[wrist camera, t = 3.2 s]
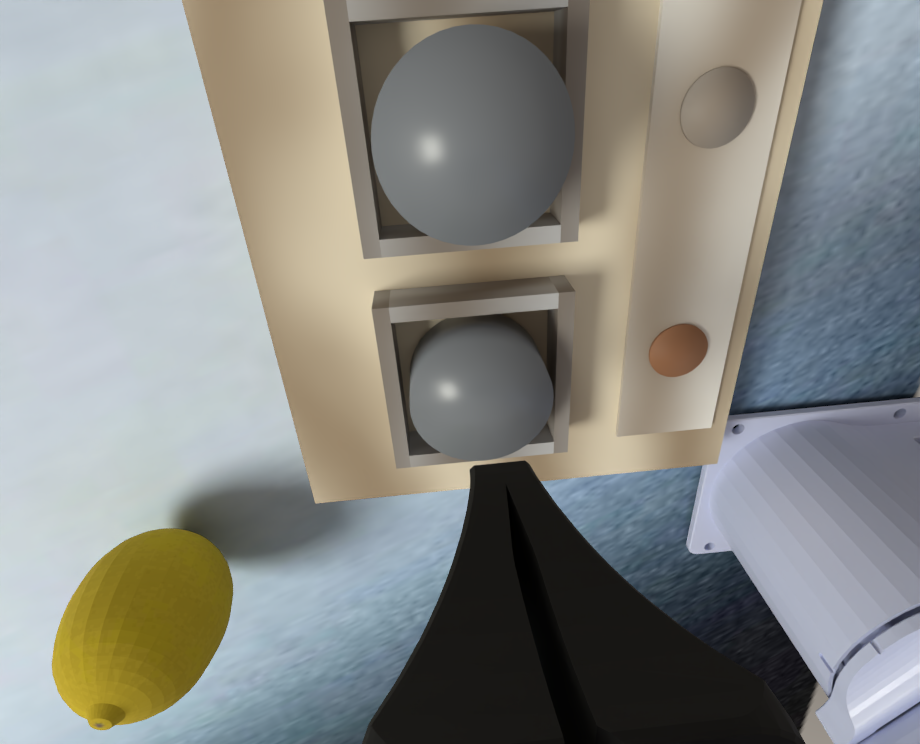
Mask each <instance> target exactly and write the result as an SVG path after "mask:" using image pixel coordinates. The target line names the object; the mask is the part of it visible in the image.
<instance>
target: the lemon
mask: <svg viewBox="0 0 920 744" xmlns="http://www.w3.org/2000/svg"><path fill="white" fill-rule="evenodd" d="M232 598H233V582H232V577H231V573H230V569H229V566H228V563H227V561H226V560H225V558H224V556H223V555H222V553H221V552H220V550H219V549H218V548H217V547H216V546H215V545H214V544H212V543H211V542H210V541H209V540H208V539H206V538H204V537H203V536H201V535H199V534H196V533H194V532H191V531H187V530H182V529H158V530H152V531H148V532H145V533H142V534H139V535H137V536H134V537H132V538H130V539H128V540H126V541H124V542H122V543H121V544H119V545H118V546H116V547H115V548H114V549H112V550H111V551H110V552H108V553H107V554H106V555H105V556H104V557H102V558H101V559H100V560H99V561H98V562H97V563H96V564H95V565H94V566H93V567H92V569H91V570H90V571H89V572H88V574H87V575H86V576H85V578H84V579H83V581H82V582H81V584H80V585H79V587H78V588H77V590H76V591H75V593H74V595H73V596H72V598H71V600H70V602H69V603H68V605H67V608H66V610H65V612H64V614H63V617H62V619H61V622H60V625H59V628H58V631H57V635H56V639H55V643H54V650H53V659H52V672H53V677H54V680H55V683H56V686H57V689H58V692H59V694H60V695H61V697H62V699H63V700H64V701H65V703H66V704H67V705H68V706H69V707H70V708H71V709H72V710H73V711H74V712H75V713H77V714H78V715H79V716H81V717H83V718H85V719H87V720H88V723H89V725H90V726H91V727H92V728H94V729H97V730H107V729H110V728H111V727H113V726H114V725H123V724H130V723H134V722H138V721H141V720H145V719H147V718H149V717H152V716H154V715H156V714H158V713H160V712H162V711H164V710H166V709H167V708H169V707H170V706H172V705H173V704H175V703H176V702H177V701H178V700H179V699H181V698H182V697H183V696H184V695H185V694H186V693H187V692H189V691H190V689H191V688H192V687H193V686H194V685H195V684H196V683H197V681H198V680H199V678H200V677H201V676H202V674H203V673H204V671H205V669H206V668H207V666H208V665H209V663H210V661H211V659H212V658H213V656H214V654H215V652H216V651H217V649H218V647H219V645H220V643H221V641H222V639H223V636H224V634H225V631H226V628H227V625H228V622H229V617H230V612H231V605H232Z"/></svg>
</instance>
